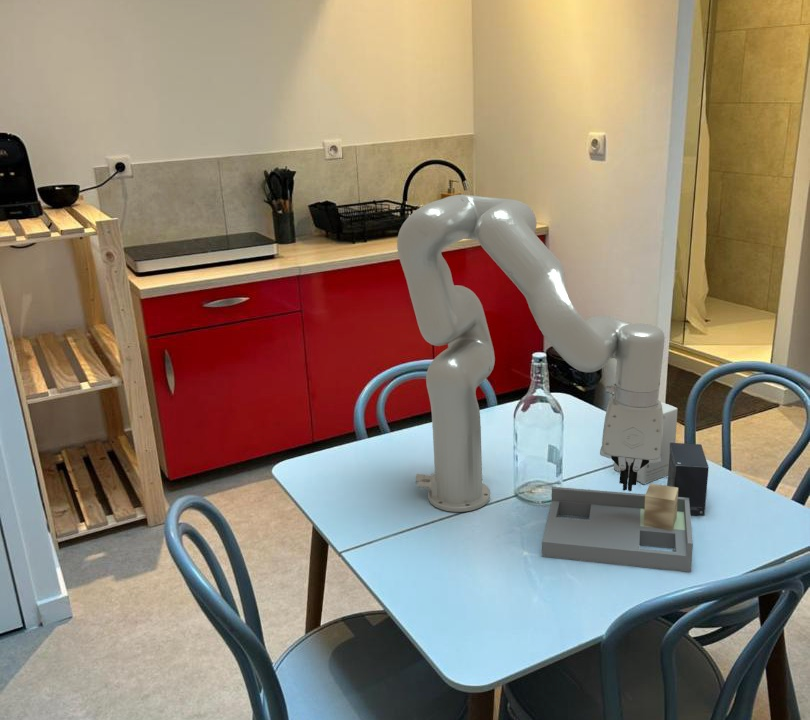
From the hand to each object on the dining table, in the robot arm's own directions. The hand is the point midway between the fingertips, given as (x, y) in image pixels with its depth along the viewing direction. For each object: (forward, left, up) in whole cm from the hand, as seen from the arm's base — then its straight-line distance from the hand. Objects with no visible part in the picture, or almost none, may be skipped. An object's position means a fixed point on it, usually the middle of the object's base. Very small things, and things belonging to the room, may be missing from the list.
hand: (627, 487), depth 150 cm
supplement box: (+3, +24, -9) cm, 26 cm away
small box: (+11, +12, -9) cm, 19 cm away
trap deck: (-2, -4, -9) cm, 10 cm away
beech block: (+6, -1, -6) cm, 8 cm away
